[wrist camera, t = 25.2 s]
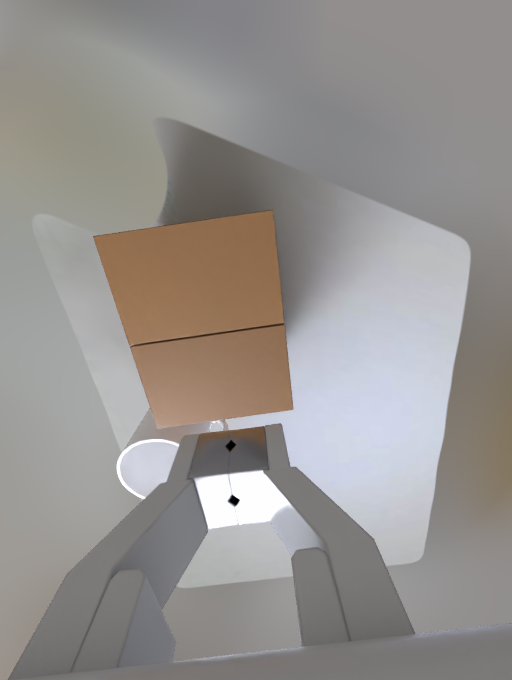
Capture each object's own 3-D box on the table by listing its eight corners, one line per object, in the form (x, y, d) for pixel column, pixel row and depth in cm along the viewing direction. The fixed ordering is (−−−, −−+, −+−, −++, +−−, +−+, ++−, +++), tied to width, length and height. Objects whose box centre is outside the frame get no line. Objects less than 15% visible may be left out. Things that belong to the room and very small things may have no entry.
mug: (142, 394, 38) (100, 452, 27) (215, 371, 37) (203, 422, 26) (168, 441, 41) (140, 510, 30) (236, 420, 40) (233, 484, 29)
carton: (158, 242, 31) (91, 235, 17) (261, 227, 31) (273, 208, 17) (189, 364, 37) (156, 429, 23) (276, 352, 36) (294, 410, 23)
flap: (95, 236, 18) (92, 236, 17) (272, 210, 18) (273, 209, 17) (131, 343, 21) (129, 345, 20) (283, 321, 20) (284, 322, 20)
